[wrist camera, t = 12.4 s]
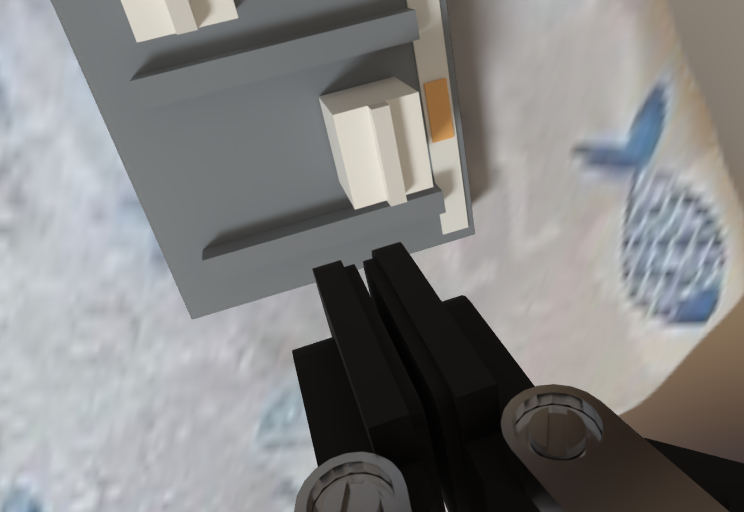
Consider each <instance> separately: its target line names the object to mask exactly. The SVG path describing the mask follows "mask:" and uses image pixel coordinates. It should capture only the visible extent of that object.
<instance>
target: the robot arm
mask: <svg viewBox="0 0 744 512" xmlns="http://www.w3.org/2000/svg"><path fill="white" fill-rule="evenodd" d="M363 266H364V271H365V275H366V279H367V283H368V287H369V292H370V295H369V292H368V290H367V288H366V286H365V284H364V282H363V280H362V278H361V276H360V274H359V272H358V270H357V268H356V266H355V264H352V265H349V266H346V267H344V265H343V263H342V261H341V260H338V261H335V262H332V263H329V264H325V265H322V266H319V267H316V268H312V270H313V274H314V277H315V281H316V284H317V287H318V291H319V294H320V298H321V301H322V304H323V308H324V311H325V315H326V318H327V321H328V325H329V328H330V331H331V335H332V338H329V339H326V340H322V341H319V342H316V343H313V344H310V345H307V346H304V347H301V348H298V349H295V350H292V353H293V358H294V363H295V367H296V372H297V376H298V381H299V385H300V389H301V394H302V398H303V403H304V407H305V411H306V416H307V420H308V425H309V429H310V434H311V438H312V442H313V447H314V451H315V456H316V460H317V464H318V467H317V468H316V469H315V470H314V471H313V472H312V473H311V474H310V476H309V477H308V478H307V479H306V480H305V481H304V483H303V485H302V487H301V489H300V491H299V493H298V495H297V498H296V504H295V510H294V512H446V511H445V506H444V503H445V505H446V507H447V510H448V512H744V463H740V462H736V461H732V460H728V459H724V458H720V457H717V456H713V455H709V454H705V453H701V452H697V451H693V450H689V449H686V448H682V447H677V446H674V445H670V444H666V443H662V442H659V441H654V440H651V439H647V438H643V437H642V436H641V435H640V434H639V433H637V432H636V431H635V430H634V429H633V428H632V427H630V426H629V425H628V424H627V423H626V422H625V421H623V420H622V419H621V418H620V417H619V416H618V415H616V414H615V413H614V412H613V411H612V410H611V409H610V408H608V407H607V406H606V405H605V404H604V403H603V402H601V401H600V400H598V399H597V398H595V397H594V396H592V395H591V394H589V393H588V392H586V391H583V390H580V389H577V388H574V387H572V386H564V385H556V384H552V385H541V386H536V387H535V386H534V385H533V384H532V382H531V381H530V380H529V378H528V377H527V376H526V374H525V373H524V372H523V370H522V369H521V368H520V366H519V365H518V364H517V362H516V361H515V360H514V358H513V357H512V356H511V354H510V353H509V352H508V351H507V349H506V348H505V347H504V345H503V344H502V343H501V341H500V340H499V339H498V337H497V336H496V335H495V333H494V332H493V331H492V329H491V328H490V327H489V325H488V324H487V323H486V321H485V320H484V319H483V318H482V316H481V315H480V314H479V312H478V311H477V310H476V308H475V307H474V306H473V304H472V303H471V302H470V300H469V299H468V298H467V297H466V296H463V295H461V296H458V297H455V298H452V299H449V300H446V301H443V302H442V301H441V300H440V299H439V297H438V296H437V294H436V293H435V291H434V290H433V288H432V287H431V285H430V284H429V282H428V281H427V279H426V278H425V276H424V275H423V273H422V272H421V270H420V269H419V267H418V266H417V265H416V263H415V262H414V260H413V259H412V257H411V256H410V254H409V253H408V251H407V250H406V248H405V247H404V245H403V244H402V243H401V242H397V243H394V244H391V245H387V246H384V247H381V248H378V249H374V250H372V259H368V260H365V261H363ZM370 296H371V297H370Z"/></svg>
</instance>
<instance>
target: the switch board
mask: <svg viewBox="0 0 744 512" xmlns="http://www.w3.org/2000/svg"><path fill="white" fill-rule="evenodd" d="M233 1H234V4H235V8H236V11H237V14H238V18H237V19H232V20H228V21H224V22H220V23H216V24H212V25H208V26H204V27H200V28H198V30H195V31H191V32H187V33H183V34H179V35H177V34H176V33H175V34H171V35H167V36H163V37H159V38H154V39H150V40H146V41H142V42H138V43H137V41H136V39H135V36H134V34H133V31H132V29H131V26H130V23H129V21H128V18H127V16H126V13H125V10H124V8H123V5H122V3H121V0H51V2H52V4H53V6H54V9H55V11H56V13H57V15H58V18H59V20H60V22H61V24H62V27H63V29H64V31H65V33H66V36H67V38H68V40H69V42H70V45H71V47H72V49H73V52H74V54H75V56H76V58H77V61H78V63H79V65H80V67H81V70H82V72H83V74H84V76H85V79H86V81H87V83H88V85H89V88H90V90H91V92H92V95H93V97H94V99H95V101H96V104H97V106H98V108H99V110H100V113H101V115H102V117H103V119H104V122H105V124H106V126H107V128H108V131H109V133H110V135H111V138H112V140H113V142H114V144H115V147H116V149H117V151H118V153H119V156H120V158H121V160H122V162H123V165H124V167H125V169H126V171H127V174H128V176H129V178H130V180H131V183H132V185H133V187H134V190H135V192H136V194H137V196H138V199H139V201H140V203H141V205H142V208H143V210H144V212H145V214H146V217H147V219H148V221H149V223H150V226H151V228H152V230H153V233H154V235H155V237H156V239H157V242H158V244H159V246H160V248H161V251H162V253H163V255H164V257H165V260H166V262H167V264H168V266H169V269H170V271H171V273H172V276H173V278H174V280H175V282H176V285H177V287H178V289H179V291H180V294H181V296H182V298H183V300H184V303H185V305H186V307H187V309H188V312H189V314H190V316H191V319H196V318H199V317H202V316H206V315H209V314H212V313H215V312H219V311H222V310H225V309H229V308H232V307H235V306H239V305H242V304H245V303H249V302H252V301H255V300H259V299H262V298H265V297H268V296H272V295H275V294H278V293H282V292H285V291H288V290H292V289H295V288H298V287H302V286H305V285H308V284H311V283H315V282H316V281H315V277H314V274H313V270H312V268H316V267H319V266H322V265H325V264H329V263H332V262H335V261H338V260H341V261H342V263H343V265H344V267H346V266H349V265H352V264H355V266H356V268H357V270H358V269H361V268H364V266H363V261H365V260H368V259H372V250H374V249H378V248H381V247H384V246H387V245H391V244H394V243H397V242H401V243H402V244H403V245H404V247H405V248H406V250H407V251H408V253H409V254H411V253H414V252H417V251H421V250H424V249H427V248H431V247H434V246H437V245H441V244H444V243H447V242H451V241H454V240H457V239H460V238H464V237H467V236H470V235H474V234H475V229H474V221H473V213H472V205H471V197H470V189H469V181H468V173H467V164H466V156H465V148H464V140H463V132H462V124H461V116H460V108H459V100H458V92H457V84H456V76H455V68H454V60H453V52H452V43H451V35H450V27H449V19H448V11H447V3H446V0H233ZM390 77H396V78H397V79H399V80H401V81H402V82H404V83H405V84H407V85H408V86H410V87H411V88H413V89H415V90H416V91H418V92H419V98H420V104H421V111H422V117H423V124H424V130H425V136H426V143H427V149H428V155H429V162H430V168H431V174H432V181H433V187H432V188H428V189H425V190H421V191H418V192H414V193H411V194H407V195H406V198H407V202H405V203H402V204H398V205H395V206H392V207H391V206H390V204H389V203H388V202H387V201H383V202H380V203H376V204H373V205H369V206H366V207H362V208H359V209H356V210H355V209H354V207H353V205H352V203H351V202H350V200H349V198H348V196H347V194H346V193H345V191H344V189H343V187H342V186H341V184H340V182H339V178H338V174H337V170H336V166H335V162H334V158H333V154H332V150H331V146H330V142H329V138H328V133H327V129H326V125H325V121H324V117H323V113H322V109H321V105H320V101H319V96H322V95H326V94H330V93H334V92H337V91H341V90H345V89H349V88H353V87H356V86H360V85H364V84H368V83H372V82H375V81H379V80H383V79H387V78H390Z"/></svg>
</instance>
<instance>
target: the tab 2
mask: <svg viewBox="0 0 744 512" xmlns="http://www.w3.org/2000/svg"><path fill="white" fill-rule="evenodd" d="M319 101H320V105H321V109H322V113H323V117H324V121H325V125H326V129H327V133H328V138H329V142H330V146H331V150H332V154H333V158H334V162H335V166H336V170H337V174H338V178H339V182H340V184H341V186H342V187H343V189H344V191H345V193H346V194H347V196H348V198H349V200H350V202H351V203H352V205H353V207H354V209H355V210H356V209H359V208H362V207H366V206H369V205H373V204H376V203H380V202H383V201H387V202H388V203H389V204H390V206H391V207H392V206H395V205H398V204H402V203H405V202H407V198H406V195H407V194H411V193H414V192H418V191H421V190H425V189H428V188H432V187H433V181H432V174H431V168H430V162H429V155H428V149H427V143H426V136H425V130H424V124H423V117H422V111H421V104H420V98H419V92H418V91H416V90H415V89H413V88H411V87H410V86H408V85H407V84H405V83H404V82H402V81H401V80H399V79H397V78H396V77H390V78H387V79H383V80H379V81H375V82H372V83H368V84H364V85H360V86H356V87H353V88H349V89H345V90H341V91H337V92H334V93H330V94H326V95H322V96H319Z"/></svg>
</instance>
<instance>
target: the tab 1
mask: <svg viewBox="0 0 744 512" xmlns="http://www.w3.org/2000/svg"><path fill="white" fill-rule="evenodd" d="M121 3H122V5H123V8H124V10H125V13H126V16H127V18H128V21H129V23H130V26H131V29H132V31H133V34H134V36H135V39H136V41H137V43H138V42H142V41H146V40H150V39H154V38H159V37H163V36H167V35H171V34H175V33H176V34H177V35H179V34H183V33H187V32H191V31H195V30H198V28H200V27H204V26H208V25H212V24H216V23H220V22H224V21H228V20H232V19H237V18H238V14H237V11H236V8H235V4H234V1H233V0H121Z"/></svg>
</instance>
